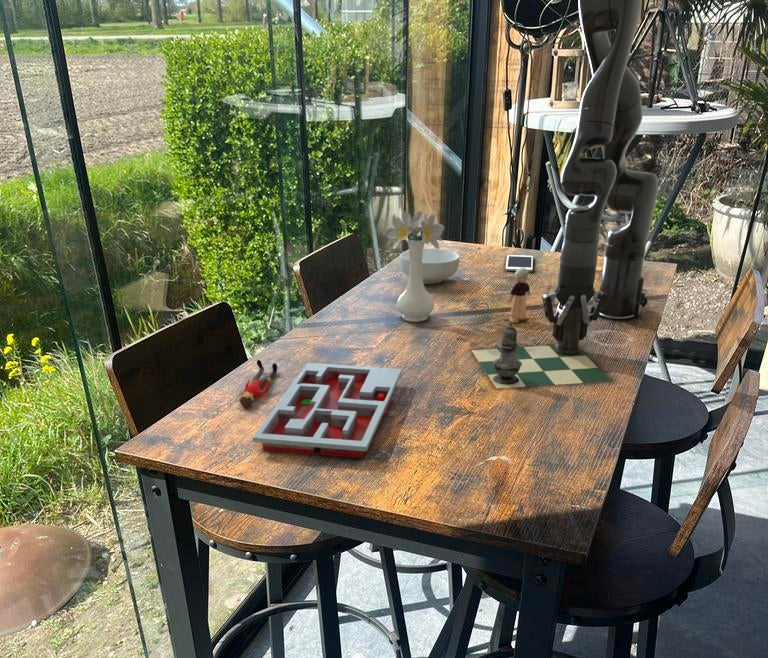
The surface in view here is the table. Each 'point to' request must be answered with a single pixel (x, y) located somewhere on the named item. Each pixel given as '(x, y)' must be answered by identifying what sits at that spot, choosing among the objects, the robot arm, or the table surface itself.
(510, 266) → the cell phone
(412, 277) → the flower vase
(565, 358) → the chess mat
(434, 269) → the cereal bowl
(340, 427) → the maze game
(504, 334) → the grey tall turned piece
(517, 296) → the grandmother figurine
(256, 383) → the person figure
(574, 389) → the table surface
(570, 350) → the dark grey cylinder
